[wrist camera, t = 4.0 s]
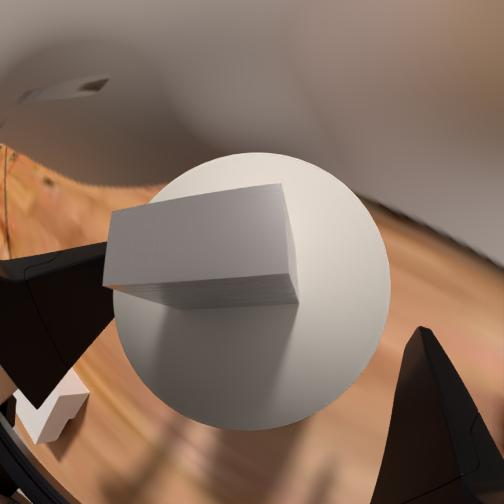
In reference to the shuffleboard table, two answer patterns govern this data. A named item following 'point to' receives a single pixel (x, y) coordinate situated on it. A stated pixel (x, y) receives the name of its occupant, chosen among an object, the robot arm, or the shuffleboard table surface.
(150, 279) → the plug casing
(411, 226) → the shuffleboard table surface
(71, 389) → the bracket
